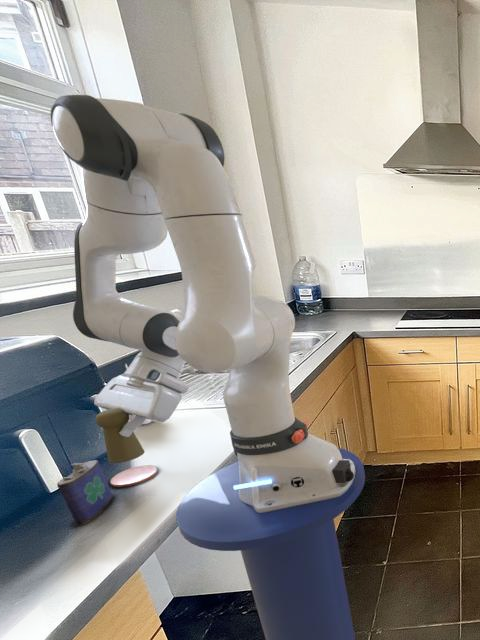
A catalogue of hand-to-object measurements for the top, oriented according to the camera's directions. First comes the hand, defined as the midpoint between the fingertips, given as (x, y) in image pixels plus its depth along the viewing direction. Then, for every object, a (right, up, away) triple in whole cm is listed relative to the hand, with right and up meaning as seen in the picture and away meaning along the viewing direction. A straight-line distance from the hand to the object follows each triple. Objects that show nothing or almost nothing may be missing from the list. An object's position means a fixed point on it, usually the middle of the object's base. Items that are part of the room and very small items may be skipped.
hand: (114, 433), depth 89 cm
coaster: (0, -10, +4) cm, 11 cm away
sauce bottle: (-20, -1, +30) cm, 37 cm away
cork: (0, -5, +3) cm, 6 cm away
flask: (+3, -15, -6) cm, 16 cm away
